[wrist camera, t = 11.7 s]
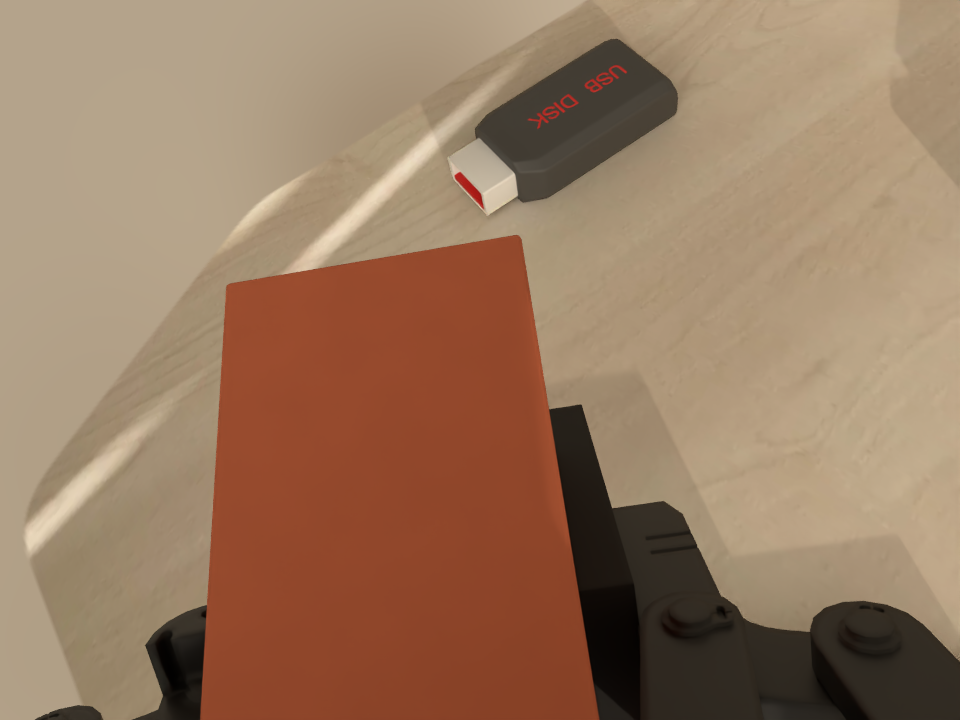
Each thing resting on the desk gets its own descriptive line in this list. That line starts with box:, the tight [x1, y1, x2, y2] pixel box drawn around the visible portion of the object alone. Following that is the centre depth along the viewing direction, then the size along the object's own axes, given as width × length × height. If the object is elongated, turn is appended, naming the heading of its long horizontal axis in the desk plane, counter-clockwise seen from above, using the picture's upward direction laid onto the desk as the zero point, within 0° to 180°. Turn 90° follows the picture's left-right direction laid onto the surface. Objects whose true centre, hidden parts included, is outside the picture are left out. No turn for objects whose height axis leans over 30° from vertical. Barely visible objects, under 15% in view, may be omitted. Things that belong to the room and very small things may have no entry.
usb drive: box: [447, 39, 678, 216], centre depth 41 cm, size 5×12×3 cm, turn 125°
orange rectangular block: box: [200, 235, 599, 720], centre depth 12 cm, size 3×7×12 cm, turn 6°
